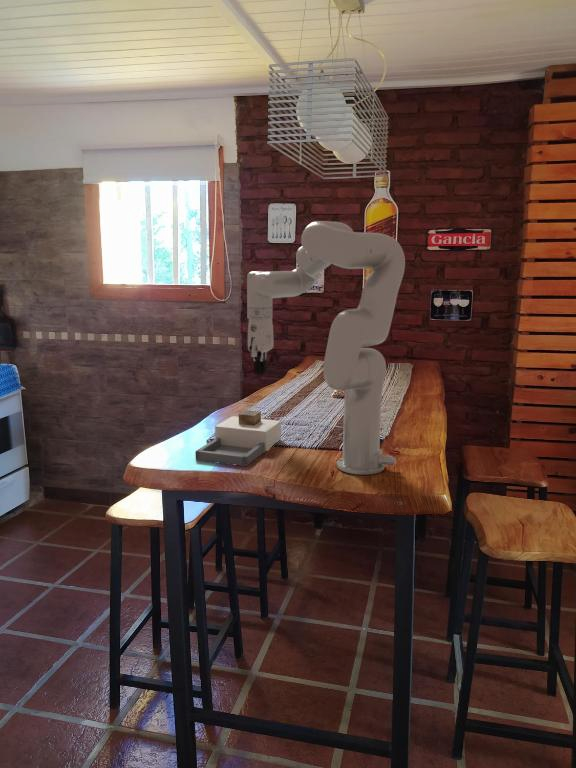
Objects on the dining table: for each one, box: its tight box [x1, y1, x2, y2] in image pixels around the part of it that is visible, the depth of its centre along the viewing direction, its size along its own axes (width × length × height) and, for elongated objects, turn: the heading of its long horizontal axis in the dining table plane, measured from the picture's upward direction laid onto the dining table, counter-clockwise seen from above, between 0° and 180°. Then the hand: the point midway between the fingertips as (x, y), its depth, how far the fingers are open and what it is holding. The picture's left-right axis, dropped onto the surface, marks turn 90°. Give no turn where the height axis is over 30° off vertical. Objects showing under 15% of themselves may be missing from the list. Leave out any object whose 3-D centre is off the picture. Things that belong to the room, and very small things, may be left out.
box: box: [195, 438, 266, 467], centre depth 167 cm, size 15×13×3 cm
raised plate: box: [214, 415, 282, 453], centre depth 178 cm, size 16×12×6 cm
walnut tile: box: [238, 410, 262, 426], centre depth 178 cm, size 5×5×3 cm
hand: (260, 373), depth 183 cm, fingers closed
